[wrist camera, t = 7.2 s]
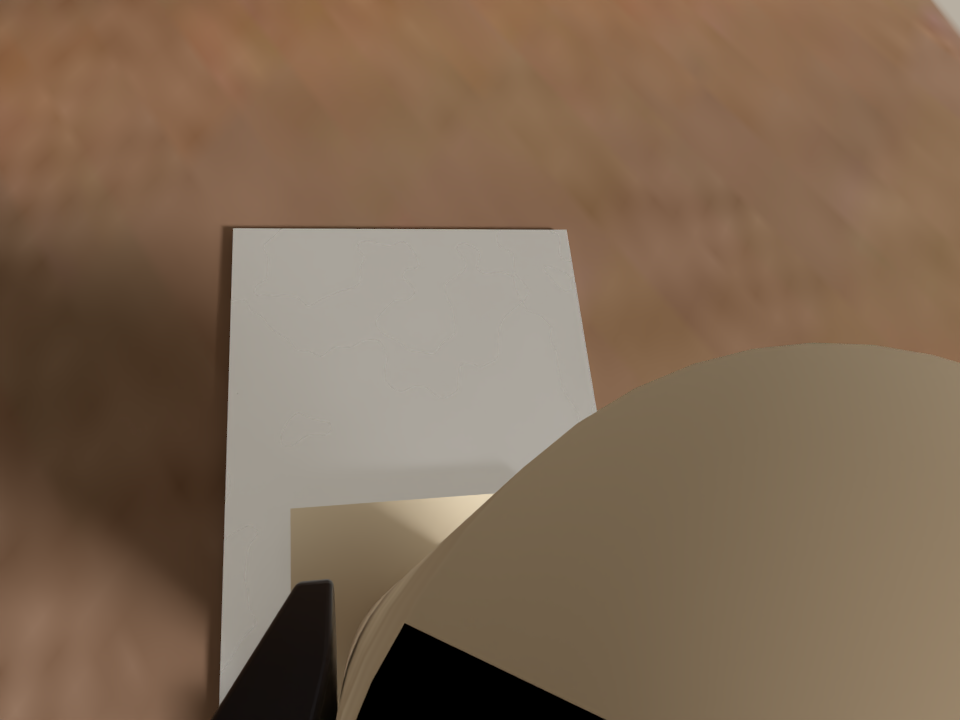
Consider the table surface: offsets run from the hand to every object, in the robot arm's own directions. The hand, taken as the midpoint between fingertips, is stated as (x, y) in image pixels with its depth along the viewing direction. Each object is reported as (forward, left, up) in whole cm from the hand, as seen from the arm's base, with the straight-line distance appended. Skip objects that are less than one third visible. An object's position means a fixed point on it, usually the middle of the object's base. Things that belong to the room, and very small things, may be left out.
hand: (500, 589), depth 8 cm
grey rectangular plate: (+4, +3, -8) cm, 9 cm away
